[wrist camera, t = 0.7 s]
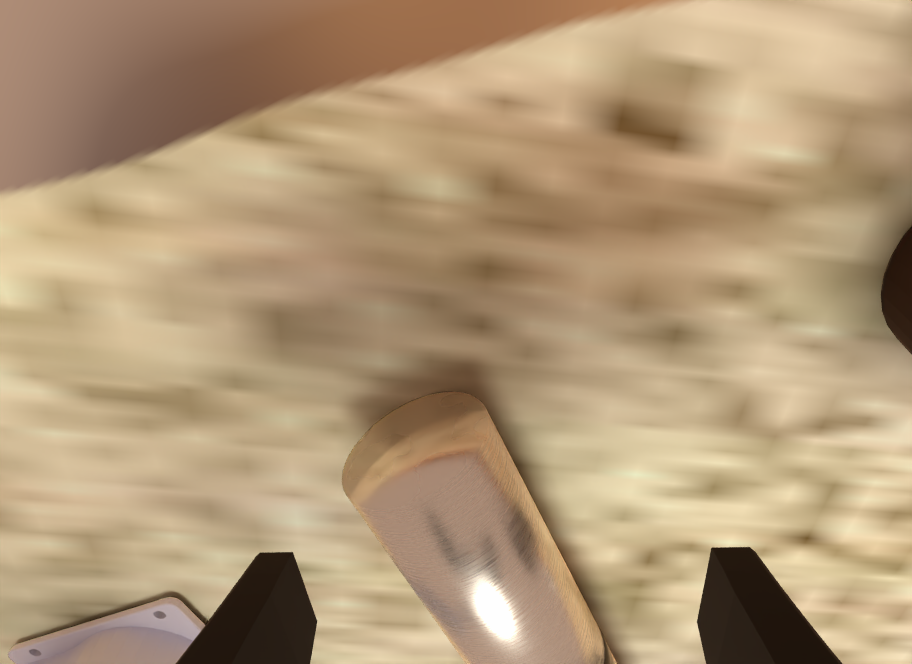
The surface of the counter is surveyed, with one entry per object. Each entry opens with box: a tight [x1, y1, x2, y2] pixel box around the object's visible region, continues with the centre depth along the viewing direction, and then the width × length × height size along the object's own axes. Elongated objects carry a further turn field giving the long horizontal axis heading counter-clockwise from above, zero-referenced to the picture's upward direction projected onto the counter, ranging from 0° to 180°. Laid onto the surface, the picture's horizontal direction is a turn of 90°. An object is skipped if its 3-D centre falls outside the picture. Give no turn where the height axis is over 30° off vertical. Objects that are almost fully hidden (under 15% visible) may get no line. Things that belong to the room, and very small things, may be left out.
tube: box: [342, 392, 617, 664], centre depth 23 cm, size 18×5×5 cm, turn 24°
